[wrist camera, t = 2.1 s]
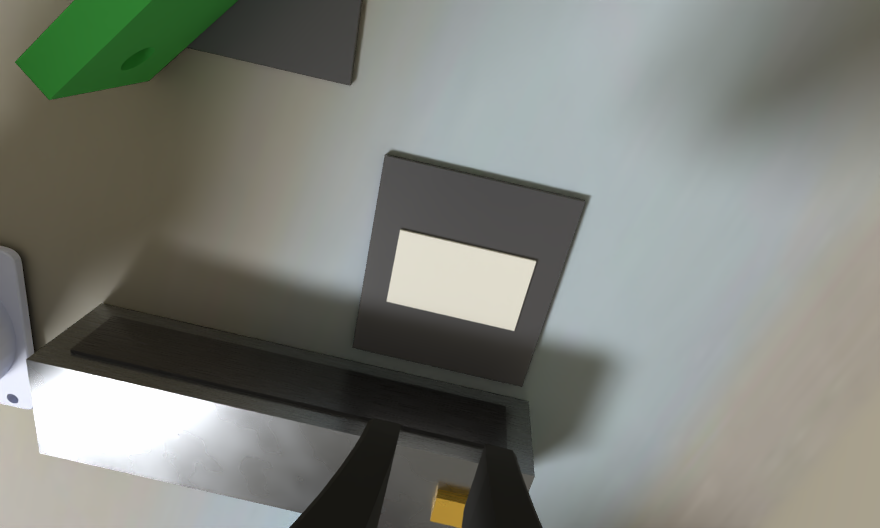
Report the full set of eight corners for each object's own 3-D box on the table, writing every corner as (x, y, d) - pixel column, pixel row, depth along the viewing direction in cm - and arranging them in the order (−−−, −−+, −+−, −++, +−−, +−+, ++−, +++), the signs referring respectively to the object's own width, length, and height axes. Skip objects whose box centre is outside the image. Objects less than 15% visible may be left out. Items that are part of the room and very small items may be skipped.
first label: (353, 345, 22) (351, 349, 22) (385, 154, 19) (384, 156, 18) (521, 383, 22) (522, 388, 22) (584, 200, 19) (585, 203, 18)
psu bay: (107, 387, 24) (31, 460, 20) (101, 300, 22) (16, 362, 18) (501, 478, 24) (502, 568, 20) (529, 398, 22) (536, 482, 18)
